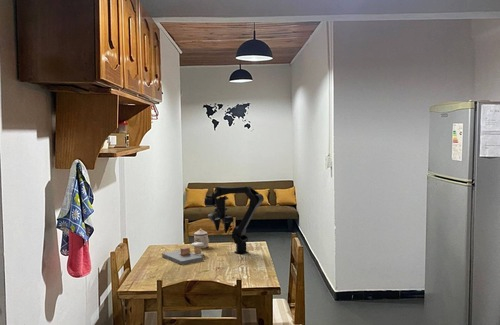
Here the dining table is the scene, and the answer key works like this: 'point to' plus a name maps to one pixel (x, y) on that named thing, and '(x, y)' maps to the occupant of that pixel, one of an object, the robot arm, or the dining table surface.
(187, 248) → the brown rectangular block
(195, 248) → the spool
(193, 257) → the slotted board
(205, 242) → the white printed mug
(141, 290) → the dining table surface
